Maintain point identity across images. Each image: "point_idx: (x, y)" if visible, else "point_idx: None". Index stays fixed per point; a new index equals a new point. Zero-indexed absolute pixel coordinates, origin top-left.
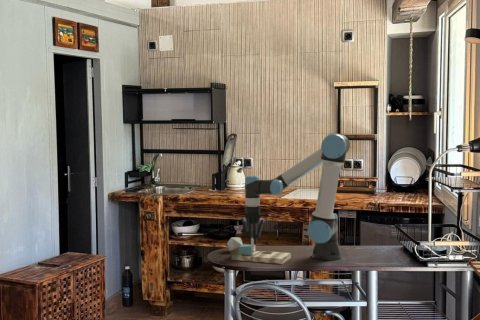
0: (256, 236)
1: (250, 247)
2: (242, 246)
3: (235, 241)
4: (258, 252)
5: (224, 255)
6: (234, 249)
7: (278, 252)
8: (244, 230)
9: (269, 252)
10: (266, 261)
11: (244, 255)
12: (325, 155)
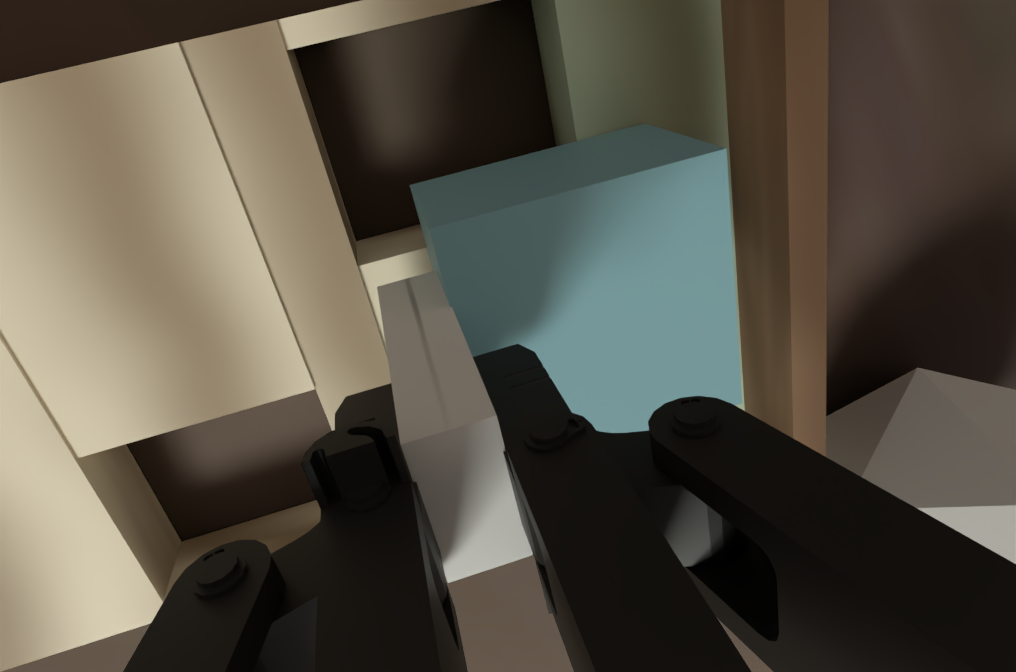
0: (307, 573)
1: (436, 260)
2: (656, 204)
3: (978, 486)
4: None
5: (928, 154)
6: (787, 65)
7: (60, 625)
8: (950, 535)
9: None
10: None
11: None
12: None
